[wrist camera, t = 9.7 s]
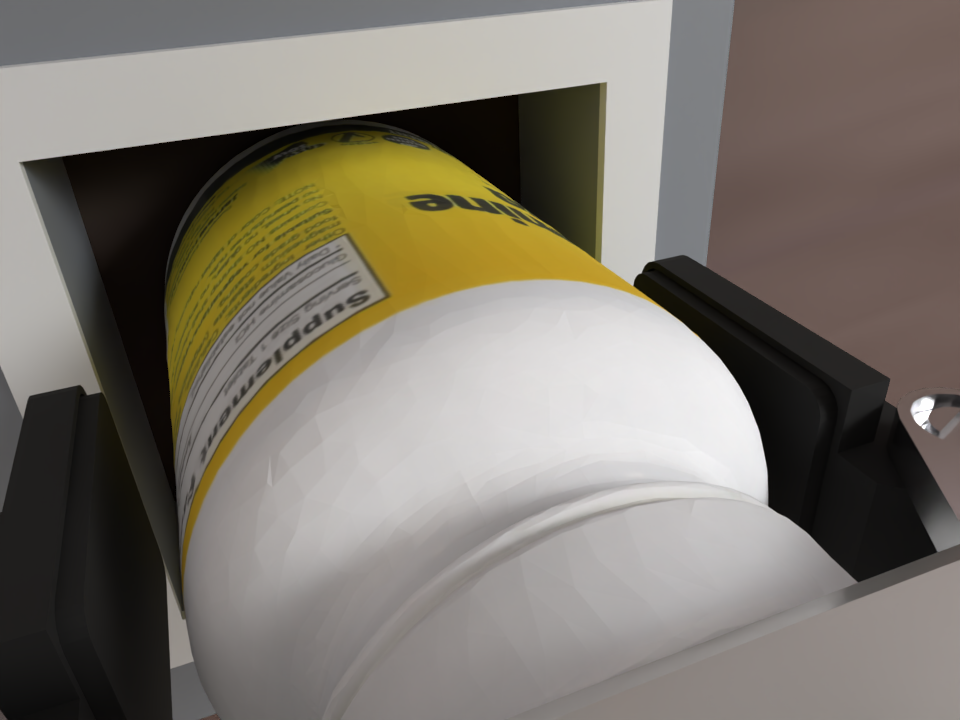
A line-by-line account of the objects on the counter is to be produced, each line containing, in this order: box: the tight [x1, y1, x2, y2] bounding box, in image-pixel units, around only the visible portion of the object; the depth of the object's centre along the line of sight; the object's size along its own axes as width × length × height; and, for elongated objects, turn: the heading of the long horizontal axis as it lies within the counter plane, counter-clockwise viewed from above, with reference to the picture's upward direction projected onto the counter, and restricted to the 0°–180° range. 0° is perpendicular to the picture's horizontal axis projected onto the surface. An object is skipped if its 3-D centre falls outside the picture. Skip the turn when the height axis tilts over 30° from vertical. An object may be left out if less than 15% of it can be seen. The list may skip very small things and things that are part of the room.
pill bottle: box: [164, 120, 858, 720], centre depth 10 cm, size 6×6×11 cm
